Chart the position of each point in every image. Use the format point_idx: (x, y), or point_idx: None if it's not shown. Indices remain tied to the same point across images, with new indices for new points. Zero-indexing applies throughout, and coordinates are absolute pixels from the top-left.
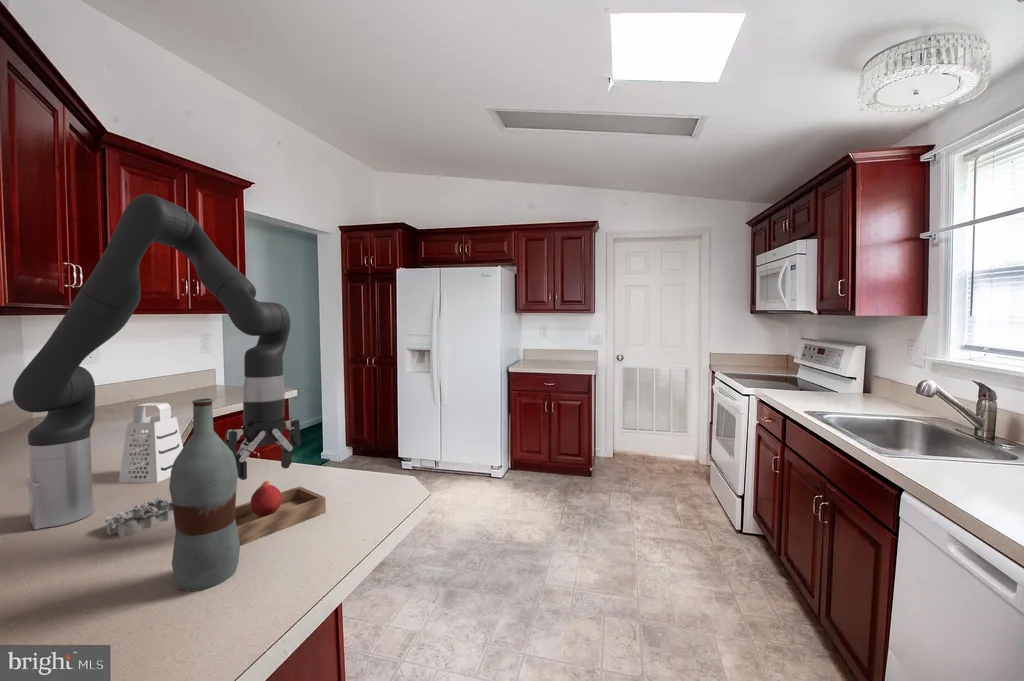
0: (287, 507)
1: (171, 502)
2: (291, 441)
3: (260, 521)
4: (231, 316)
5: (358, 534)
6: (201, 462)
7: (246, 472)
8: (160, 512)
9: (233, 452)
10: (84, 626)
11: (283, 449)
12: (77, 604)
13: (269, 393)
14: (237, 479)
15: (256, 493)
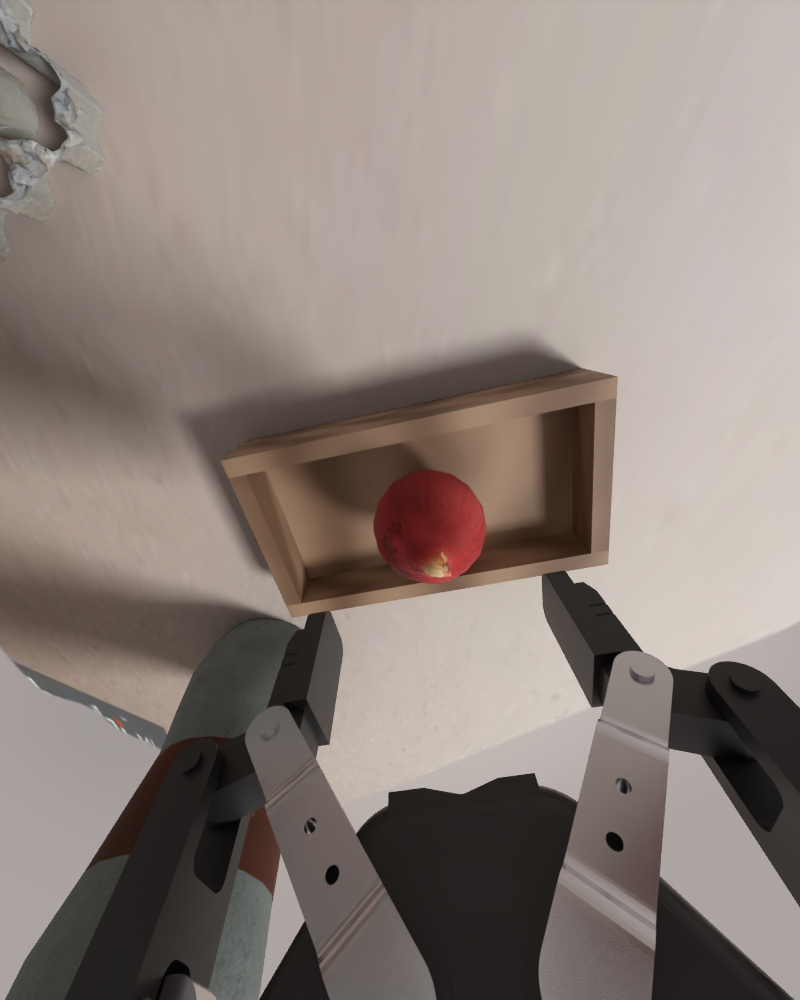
0: (506, 453)
1: (24, 46)
2: (717, 730)
3: (385, 599)
4: None
5: (561, 676)
6: None
7: (336, 680)
8: (23, 180)
9: (220, 863)
10: (107, 676)
11: (606, 679)
12: (58, 611)
13: None
14: (262, 972)
15: (391, 563)
